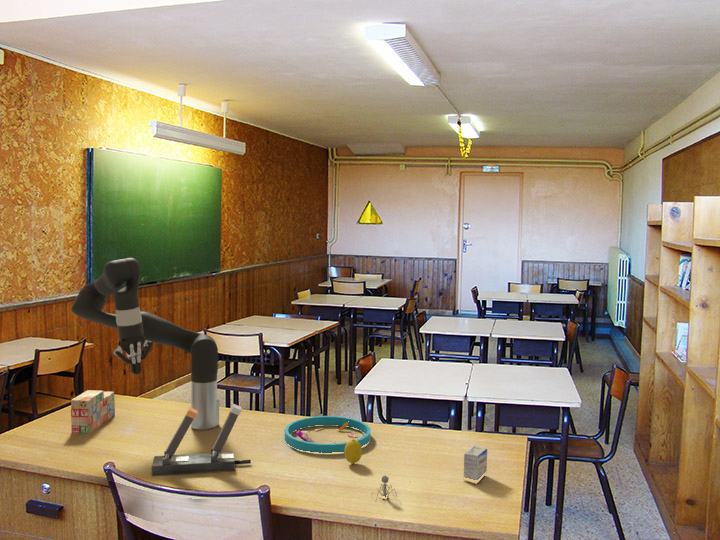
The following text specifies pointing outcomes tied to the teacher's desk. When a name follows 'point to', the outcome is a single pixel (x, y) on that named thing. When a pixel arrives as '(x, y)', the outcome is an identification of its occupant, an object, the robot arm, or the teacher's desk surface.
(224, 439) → the lever
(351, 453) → the lemon
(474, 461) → the medicine box
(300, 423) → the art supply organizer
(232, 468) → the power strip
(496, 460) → the teacher's desk surface
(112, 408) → the stack of blocks
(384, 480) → the bacteriophage
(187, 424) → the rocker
